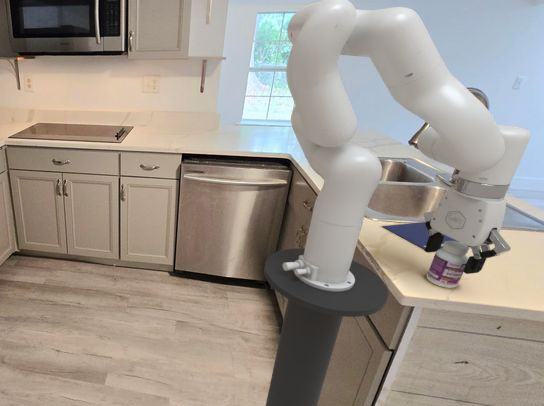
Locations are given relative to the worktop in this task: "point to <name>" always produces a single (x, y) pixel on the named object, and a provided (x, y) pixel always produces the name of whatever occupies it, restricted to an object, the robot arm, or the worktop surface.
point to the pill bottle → (448, 264)
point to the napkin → (415, 233)
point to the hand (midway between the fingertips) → (450, 261)
